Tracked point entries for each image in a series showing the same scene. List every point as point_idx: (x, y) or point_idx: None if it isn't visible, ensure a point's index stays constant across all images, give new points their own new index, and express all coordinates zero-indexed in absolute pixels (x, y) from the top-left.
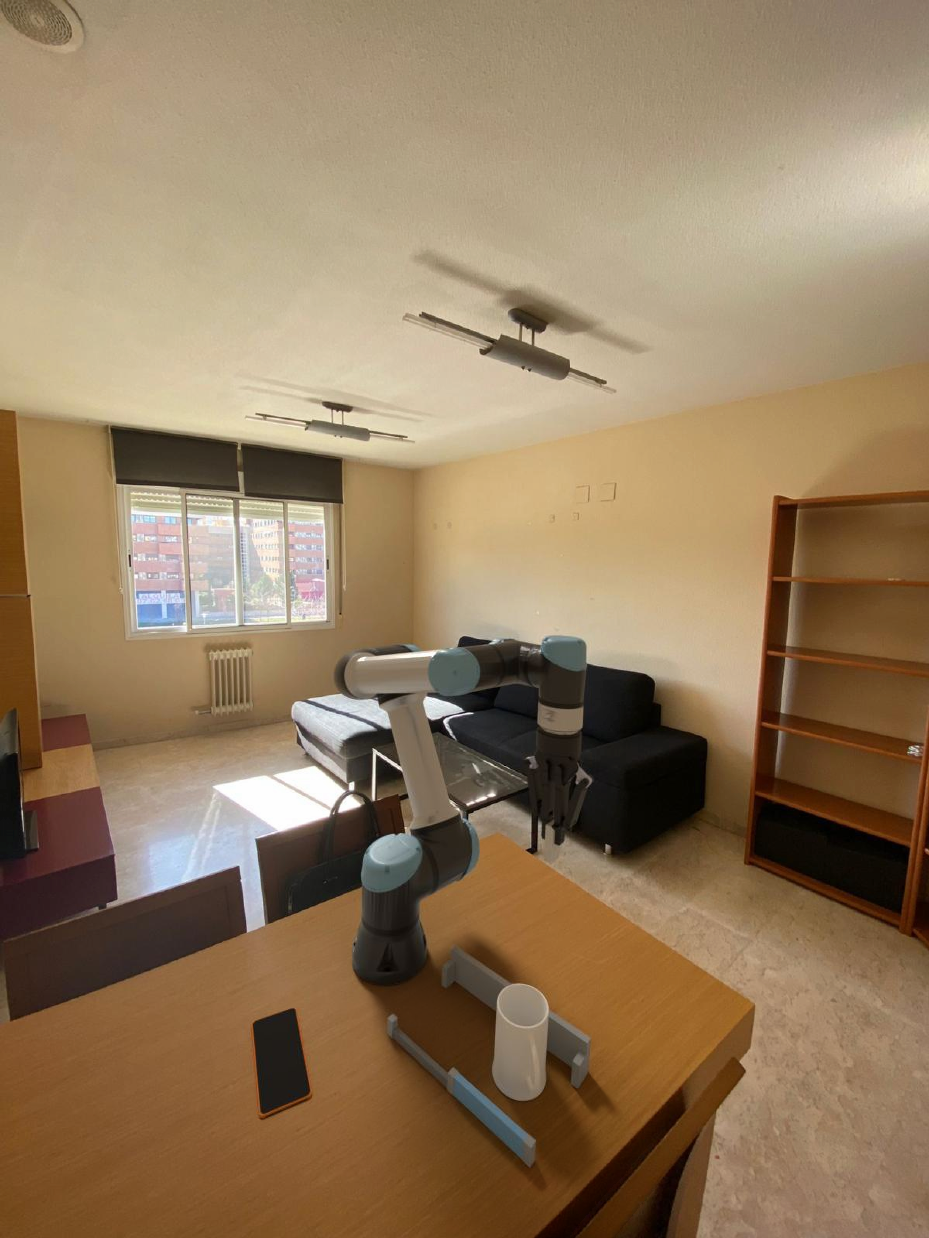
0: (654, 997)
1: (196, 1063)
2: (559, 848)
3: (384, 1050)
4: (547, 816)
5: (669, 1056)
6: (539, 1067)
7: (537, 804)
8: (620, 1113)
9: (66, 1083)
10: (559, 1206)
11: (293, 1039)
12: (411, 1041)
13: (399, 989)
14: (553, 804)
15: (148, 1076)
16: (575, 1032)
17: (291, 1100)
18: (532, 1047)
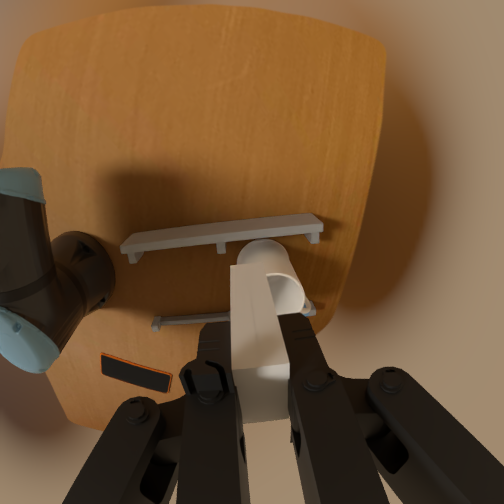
0: (320, 78)
1: (117, 397)
2: (266, 279)
3: (168, 330)
4: (244, 453)
5: (360, 139)
6: (310, 307)
7: (168, 494)
8: (347, 224)
9: (104, 422)
10: (336, 306)
11: (126, 365)
12: (179, 321)
13: (120, 288)
14: (240, 478)
15: (115, 409)
16: (307, 230)
17: (168, 382)
18: (302, 313)
